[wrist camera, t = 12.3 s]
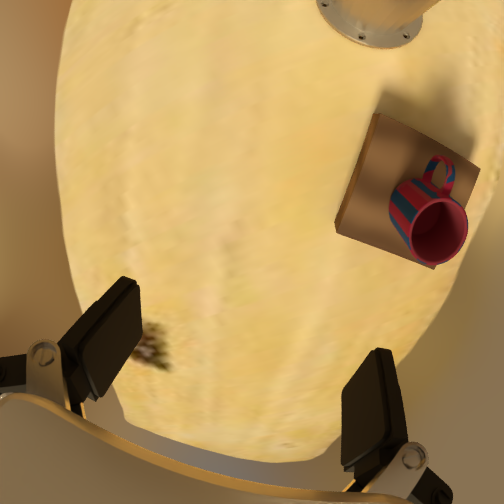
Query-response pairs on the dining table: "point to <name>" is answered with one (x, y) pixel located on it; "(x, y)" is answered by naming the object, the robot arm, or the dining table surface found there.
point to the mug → (429, 216)
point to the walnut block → (394, 182)
